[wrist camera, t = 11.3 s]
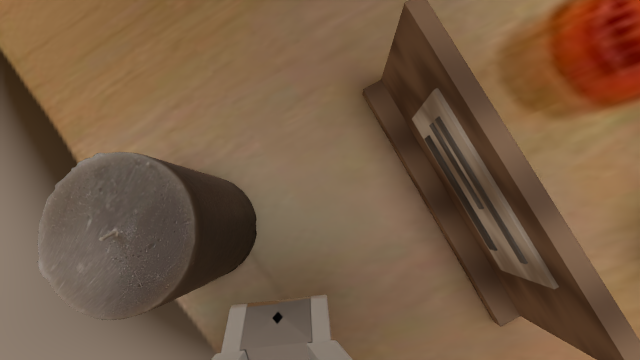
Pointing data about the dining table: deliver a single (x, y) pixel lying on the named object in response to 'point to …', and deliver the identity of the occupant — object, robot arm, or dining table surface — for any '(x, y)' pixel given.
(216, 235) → the pillar candle
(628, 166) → the dining table surface
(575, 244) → the label placard
